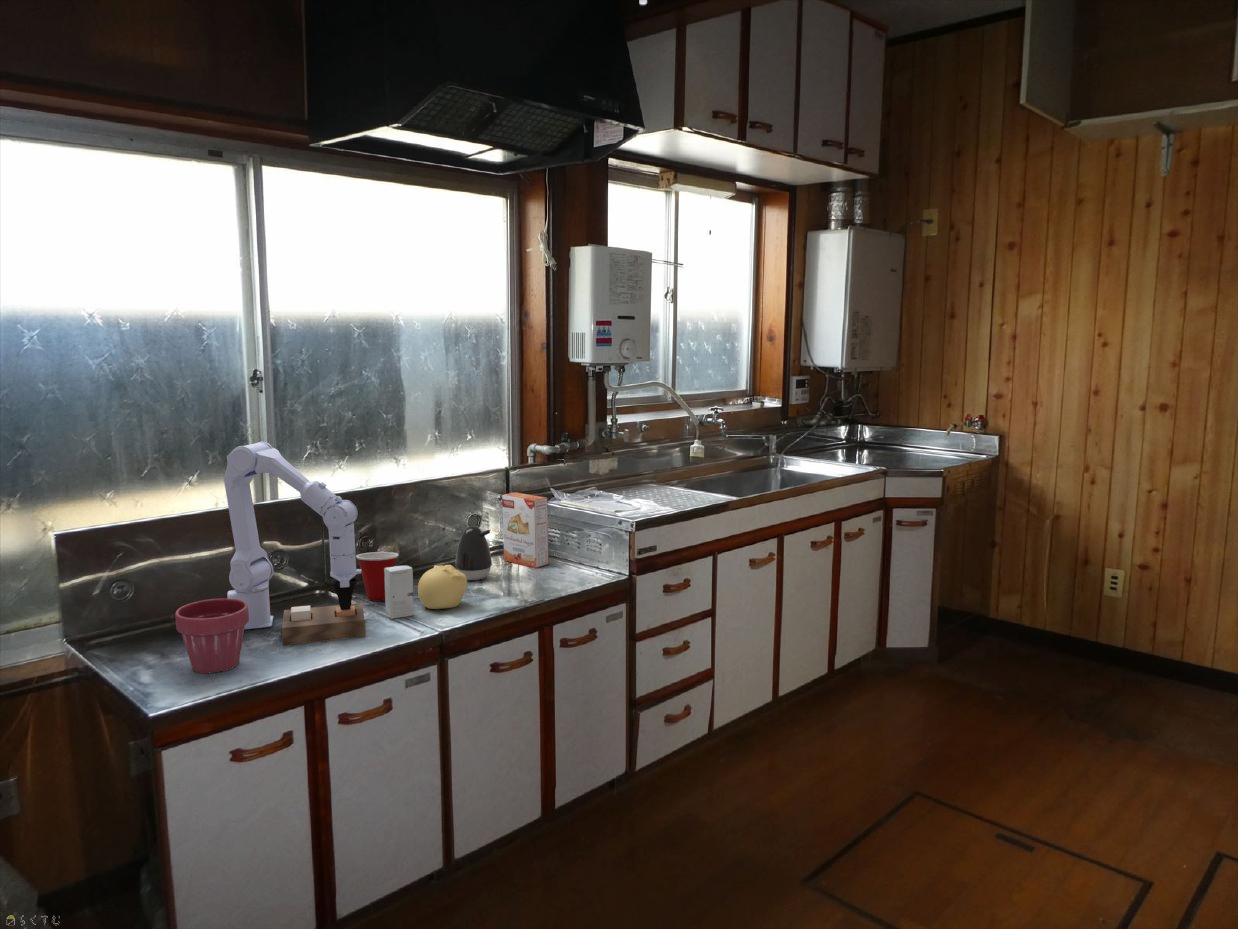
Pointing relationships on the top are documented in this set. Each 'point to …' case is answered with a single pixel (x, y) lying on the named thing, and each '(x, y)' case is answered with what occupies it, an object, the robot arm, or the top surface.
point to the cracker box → (525, 529)
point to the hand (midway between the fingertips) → (345, 609)
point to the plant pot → (213, 632)
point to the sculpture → (442, 587)
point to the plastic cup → (375, 572)
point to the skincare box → (399, 591)
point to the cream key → (300, 613)
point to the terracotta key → (345, 611)
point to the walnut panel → (323, 625)
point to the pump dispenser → (473, 554)
